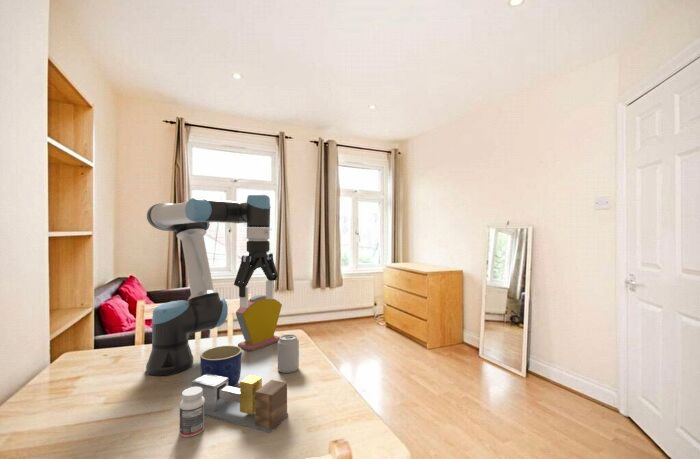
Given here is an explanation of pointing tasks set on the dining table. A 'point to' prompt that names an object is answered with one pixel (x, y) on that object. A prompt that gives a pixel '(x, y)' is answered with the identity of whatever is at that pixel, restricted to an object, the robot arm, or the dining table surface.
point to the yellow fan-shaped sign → (258, 322)
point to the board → (237, 416)
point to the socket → (271, 404)
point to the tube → (242, 393)
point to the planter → (222, 363)
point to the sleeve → (211, 390)
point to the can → (288, 353)
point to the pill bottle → (192, 412)
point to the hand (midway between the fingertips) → (257, 302)
